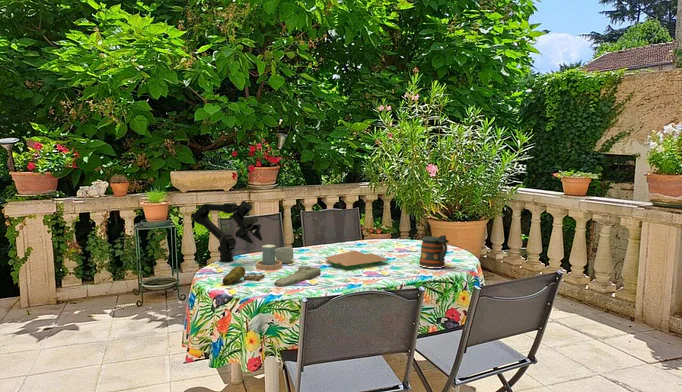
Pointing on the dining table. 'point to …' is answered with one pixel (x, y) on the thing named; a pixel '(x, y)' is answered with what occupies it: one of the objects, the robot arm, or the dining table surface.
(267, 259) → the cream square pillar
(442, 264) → the beer stein
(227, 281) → the potato
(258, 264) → the tan polygonal ring
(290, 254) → the teacup
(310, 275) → the long grey stone
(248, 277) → the parts tray
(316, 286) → the dining table surface
